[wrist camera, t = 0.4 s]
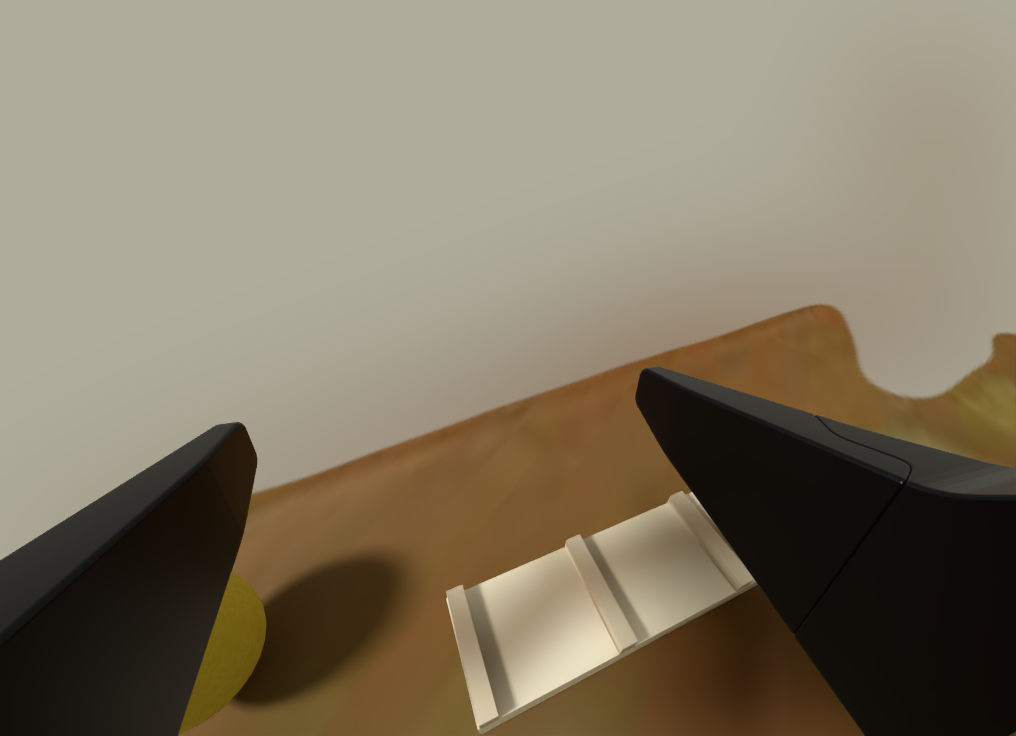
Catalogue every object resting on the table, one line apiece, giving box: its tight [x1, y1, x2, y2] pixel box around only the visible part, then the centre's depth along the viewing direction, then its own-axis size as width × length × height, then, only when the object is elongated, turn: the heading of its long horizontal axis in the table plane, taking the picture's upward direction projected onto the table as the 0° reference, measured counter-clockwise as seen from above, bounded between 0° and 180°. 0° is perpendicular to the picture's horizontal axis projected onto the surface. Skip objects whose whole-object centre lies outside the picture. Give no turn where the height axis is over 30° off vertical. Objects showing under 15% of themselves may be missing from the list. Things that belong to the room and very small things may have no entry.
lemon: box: [179, 572, 266, 734], centre depth 15 cm, size 6×6×8 cm
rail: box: [446, 491, 758, 734], centre depth 18 cm, size 5×20×8 cm, turn 112°
